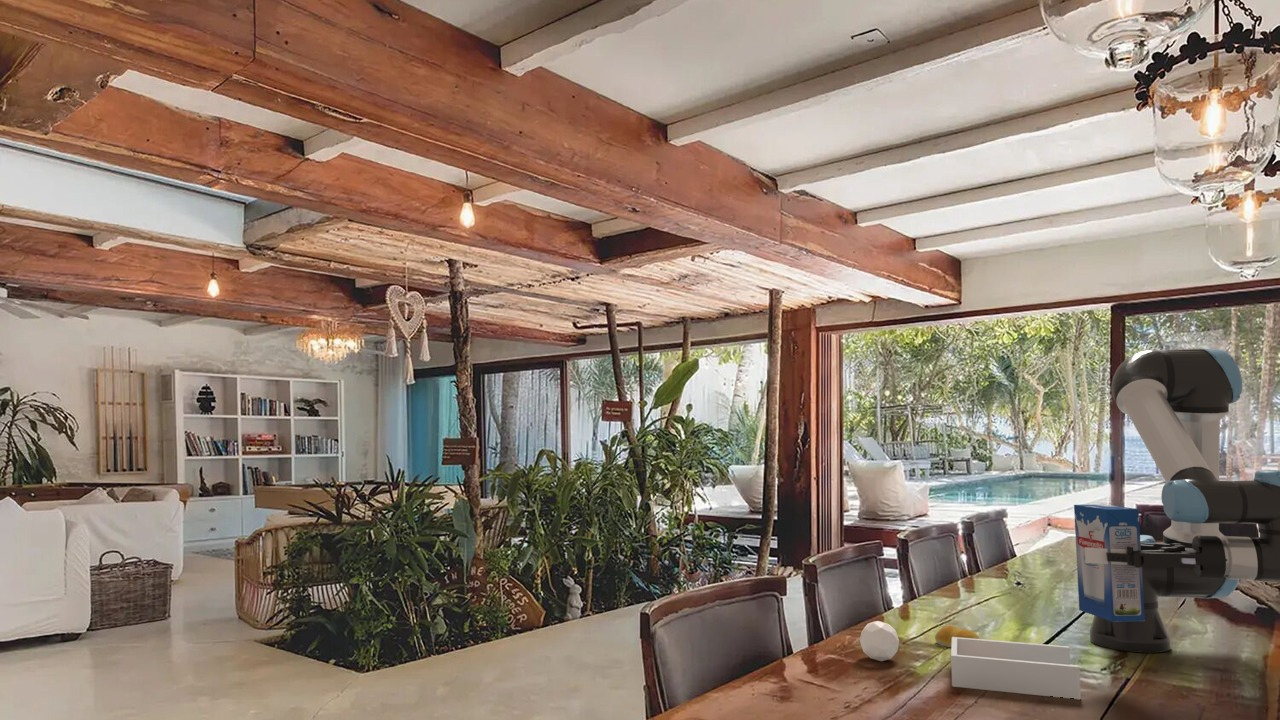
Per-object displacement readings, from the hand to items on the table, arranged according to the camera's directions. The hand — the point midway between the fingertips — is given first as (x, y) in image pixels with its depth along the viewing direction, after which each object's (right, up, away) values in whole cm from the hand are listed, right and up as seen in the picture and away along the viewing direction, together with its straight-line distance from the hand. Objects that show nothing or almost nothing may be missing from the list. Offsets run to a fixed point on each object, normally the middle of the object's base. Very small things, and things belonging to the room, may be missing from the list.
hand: (1081, 551), depth 155 cm
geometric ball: (-34, -26, +13) cm, 45 cm away
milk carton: (+4, -12, -3) cm, 12 cm away
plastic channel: (-14, -24, -2) cm, 28 cm away
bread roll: (-14, -27, +25) cm, 39 cm away
